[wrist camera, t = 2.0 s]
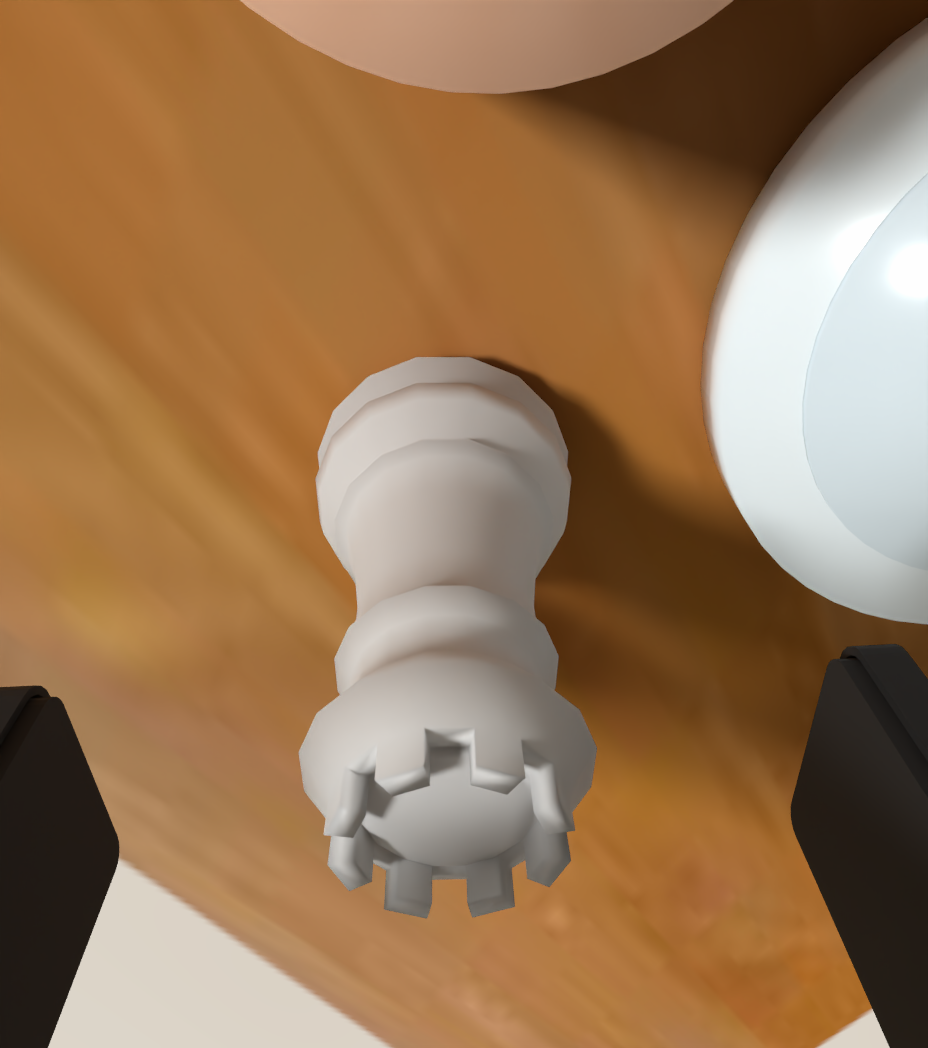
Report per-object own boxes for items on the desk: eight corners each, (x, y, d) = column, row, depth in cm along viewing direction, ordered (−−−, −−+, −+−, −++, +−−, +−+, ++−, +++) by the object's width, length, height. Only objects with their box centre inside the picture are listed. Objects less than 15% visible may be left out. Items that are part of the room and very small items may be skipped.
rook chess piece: (615, 430, 14) (768, 802, 8) (473, 593, 16) (499, 1003, 10) (405, 292, 13) (372, 606, 6) (276, 490, 15) (148, 889, 8)
